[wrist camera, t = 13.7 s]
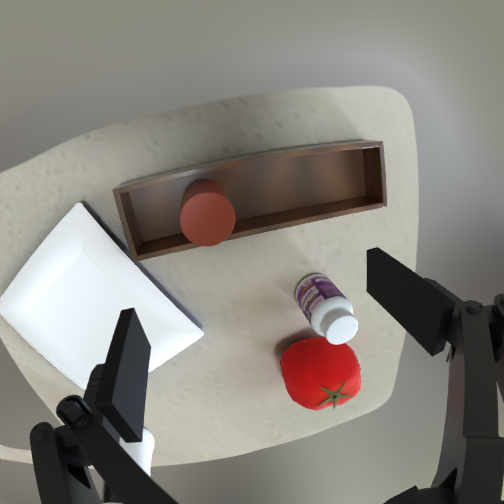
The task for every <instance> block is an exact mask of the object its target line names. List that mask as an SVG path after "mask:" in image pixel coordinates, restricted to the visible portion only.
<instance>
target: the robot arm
mask: <svg viewBox="0 0 504 504" xmlns="http://www.w3.org/2000/svg"><path fill="white" fill-rule="evenodd" d="M367 292H368V293H369V294H370V295H371V296H372V297H373V298H374V299H375V300H376V301H377V302H378V303H379V304H380V305H381V306H382V307H383V308H384V309H385V310H386V311H387V312H388V313H389V314H390V315H391V316H392V317H394V318H395V319H396V320H397V321H398V322H399V323H400V324H401V325H402V326H403V327H404V328H405V329H406V330H407V331H408V332H409V333H410V334H411V335H412V336H413V337H414V338H415V339H416V341H417V342H418V343H419V344H420V345H421V346H422V347H423V348H425V350H426V351H427V352H428V353H429V354H430V355H431V356H434V355H436V354H438V353H439V352H442V351H443V350H444V347H445V343H446V340H447V341H448V342H449V343H450V344H451V346H450V350H449V353H448V356H447V360H446V362H448V360H449V384H448V399H447V412H446V420H445V428H444V436H443V442H442V449H441V455H440V460H439V465H438V470H437V473H436V475H435V478H434V480H433V482H432V485H431V488H424V489H419V490H418V488H417V487H416V486H414V487H412V488H410V489H408V490H406V491H404V492H403V493H401V494H399V495H397V496H395V497H393V498H391V499H389V500H388V501H386V502H385V503H384V504H504V501H502V500H501V495H502V486H503V476H504V438H503V437H499V435H498V400H497V384H498V387H499V389H500V393H501V396H502V398H503V402H504V294H498V295H496V296H495V299H494V303H493V304H492V305H488V306H483V305H482V304H481V303H479V302H477V301H472V300H471V301H470V300H469V301H465V302H464V301H462V300H461V299H459V298H458V297H457V296H455V295H454V294H453V293H451V292H450V291H449V290H447V289H446V288H444V287H443V286H441V285H440V284H439V283H437V282H436V281H434V280H431V279H428V278H424V279H423V278H422V277H420V276H419V275H417V274H416V273H415V272H413V271H412V270H410V269H409V268H407V267H406V266H405V265H403V264H402V263H400V262H399V261H397V260H396V259H394V258H393V257H391V256H390V255H389V254H387V253H386V252H384V251H383V250H381V249H380V248H378V247H376V248H373V249H369V250H367ZM150 353H151V345H150V343H149V341H148V339H147V336H146V334H145V332H144V330H143V327H142V325H141V323H140V320H139V318H138V316H137V313H136V311H135V308H134V307H133V308H129V309H124V310H121V312H120V315H119V318H118V321H117V325H116V328H115V331H114V334H113V337H112V340H111V343H110V347H109V350H108V353H107V357H106V360H105V363H103V364H97V365H96V366H95V367H94V369H93V370H92V371H91V374H90V377H89V382H88V383H87V388H86V390H85V394H84V397H83V399H82V398H81V397H80V396H78V395H70V396H67V397H65V398H64V399H63V400H61V401H60V403H59V404H58V406H57V409H56V413H57V416H58V417H59V418H60V419H61V420H62V422H63V423H64V424H65V425H63V426H60V427H57V428H53V426H52V425H51V424H49V423H48V422H41V423H39V424H37V425H36V426H34V428H33V429H32V430H31V433H30V445H31V452H32V459H33V465H34V471H35V475H36V481H37V486H38V490H39V495H40V499H41V503H42V504H102V502H101V500H100V498H99V495H98V493H97V490H96V488H95V485H94V483H93V480H92V477H91V475H90V472H89V469H88V466H91V465H93V466H94V468H95V469H96V470H97V472H98V473H99V475H100V476H101V477H102V479H103V480H104V481H105V482H106V484H107V485H108V486H109V487H110V489H111V490H112V491H113V492H114V494H115V495H116V496H117V497H118V498H119V500H120V501H121V502H122V503H123V504H180V503H179V502H177V501H176V500H175V499H174V498H173V497H172V496H170V495H169V494H168V493H167V492H166V491H165V490H164V489H163V488H162V487H161V486H160V485H158V483H156V482H155V481H154V480H153V479H152V478H151V477H150V476H149V475H148V474H147V473H146V472H145V471H144V470H143V469H142V468H141V467H140V466H139V465H138V464H137V463H136V462H135V460H134V459H133V458H132V457H131V456H130V455H129V454H128V453H127V452H126V451H125V450H124V448H123V447H122V446H121V445H120V444H119V442H120V437H121V438H122V439H123V440H124V441H125V442H126V443H137V442H142V440H143V424H144V411H145V399H146V389H147V379H148V370H149V362H150ZM496 381H497V384H496Z"/></svg>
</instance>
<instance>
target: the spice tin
mask: <svg viewBox="0 0 504 504" xmlns="http://www.w3.org/2000/svg"><path fill="white" fill-rule="evenodd" d="M234 225H235V212H234V209H233V207H232V205H231V204H230V202H229V200H228V199H227V197H226V195H225V194H224V192H223V190H222V189H221V187H220V186H219V185H218V184H217V183H216V182H214V181H212V180H209V179H199V180H196V181H194V182H192V183H191V184H190V185H189V186H188V187H187V188H186V190H185V192H184V195H183V200H182V206H181V212H180V226H181V229H182V232H183V233H184V235H185V236H186V237H187V238H188V239H189V240H190V241H191V242H193V243H195V244H197V245H201V246H213V245H217V244H219V243H221V242H223V241H224V240H225V239H227V237H228V236H229V235H230V234H231V232H232V230H233V228H234Z"/></svg>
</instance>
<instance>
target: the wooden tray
mask: <svg viewBox="0 0 504 504" xmlns="http://www.w3.org/2000/svg"><path fill="white" fill-rule="evenodd" d="M199 179H209V180H212V181H214V182H216V183H217V184H218V185H219V186H220V187H221V189H222V190H223V192H224V194H225V195H226V197H227V199H228V200H229V202H230V204H231V205H232V207H233V209H234V212H235V225H234V228H233V230H232V232H231V234H230V235H229V236H228V237H227V239H225V240H224V241H227V240H231V239H236V238H240V237H245V236H249V235H254V234H258V233H263V232H267V231H272V230H277V229H281V228H286V227H291V226H295V225H300V224H305V223H309V222H314V221H319V220H324V219H328V218H333V217H338V216H343V215H348V214H353V213H358V212H362V211H367V210H372V209H377V208H382V207H387V193H386V174H385V160H384V148H383V141H373V140H355V141H345V142H335V143H326V144H317V145H309V146H302V147H294V148H287V149H280V150H274V151H268V152H261V153H255V154H250V155H244V156H239V157H233V158H228V159H223V160H218V161H213V162H208V163H203V164H199V165H194V166H190V167H185V168H181V169H176V170H172V171H168V172H164V173H160V174H156V175H152V176H148V177H144V178H141V179H137V180H133V181H130V182H126V183H123V184H121V185H120V186H118V187H116V188H115V189H113V192H114V196H115V200H116V204H117V208H118V212H119V215H120V219H121V222H122V226H123V229H124V233H125V236H126V239H127V243H128V246H129V249H130V252H131V255H132V259H133V261H134V262H135V261H140V260H144V259H148V258H152V257H157V256H161V255H165V254H170V253H174V252H178V251H183V250H187V249H191V248H196V247H200V246H201V245H197V244H195V243H193V242H191V241H190V240H189V239H188V238H187V237H186V236H185V235H184V233H183V232H182V229H181V226H180V212H181V206H182V200H183V195H184V192H185V190H186V188H187V187H188V186H189V185H190V184H191V183H192V182H194V181H196V180H199Z"/></svg>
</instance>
